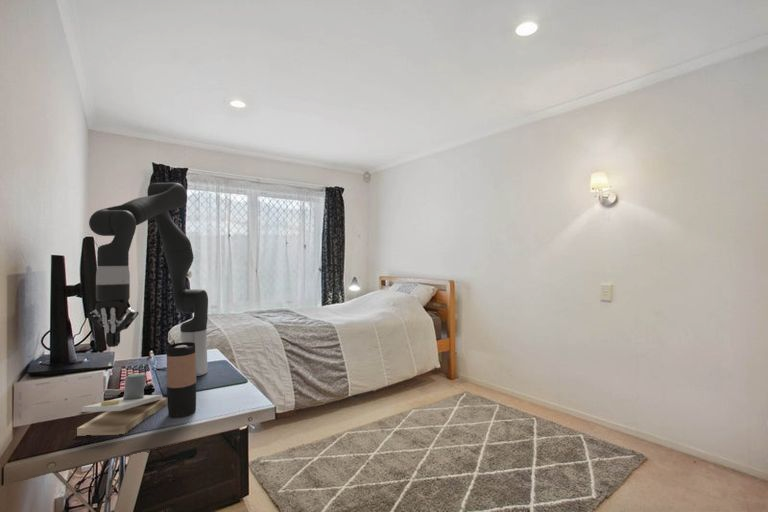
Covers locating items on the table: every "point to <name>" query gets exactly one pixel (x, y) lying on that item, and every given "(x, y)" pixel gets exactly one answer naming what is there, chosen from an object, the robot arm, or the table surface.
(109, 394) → the caliper
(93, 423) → the oak base
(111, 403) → the plate
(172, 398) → the travel mug
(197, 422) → the table surface
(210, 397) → the table surface
